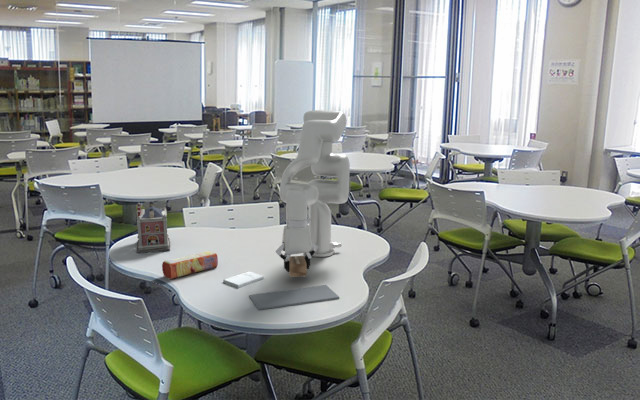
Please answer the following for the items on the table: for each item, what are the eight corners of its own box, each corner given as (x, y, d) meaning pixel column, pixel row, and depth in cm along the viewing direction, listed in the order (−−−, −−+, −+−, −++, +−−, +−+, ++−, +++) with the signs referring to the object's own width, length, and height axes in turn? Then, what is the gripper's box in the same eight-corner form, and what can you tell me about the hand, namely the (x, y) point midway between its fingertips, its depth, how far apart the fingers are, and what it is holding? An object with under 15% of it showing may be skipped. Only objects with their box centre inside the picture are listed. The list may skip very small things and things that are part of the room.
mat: (325, 286, 197) (326, 284, 197) (339, 298, 187) (339, 296, 186) (249, 296, 187) (249, 294, 187) (258, 310, 176) (258, 308, 176)
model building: (137, 241, 249) (134, 197, 245) (170, 239, 253) (167, 196, 248) (135, 253, 231) (133, 207, 227) (170, 251, 235) (168, 205, 231)
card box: (304, 267, 208) (304, 255, 206) (306, 276, 199) (306, 263, 198) (288, 267, 207) (287, 255, 206) (290, 276, 198) (289, 264, 197)
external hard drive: (223, 283, 200) (248, 274, 210) (238, 289, 195) (263, 279, 204) (223, 279, 200) (248, 270, 209) (238, 284, 195) (263, 275, 204)
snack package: (209, 264, 220) (209, 247, 219) (219, 268, 216) (219, 251, 214) (161, 276, 206) (160, 259, 204) (170, 281, 201) (170, 263, 200)
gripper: (315, 217, 205) (315, 263, 209) (270, 222, 199) (271, 268, 203) (323, 223, 198) (323, 269, 202) (276, 228, 192) (277, 276, 196)
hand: (297, 268), depth 203 cm, fingers closed on card box, 6 cm apart
